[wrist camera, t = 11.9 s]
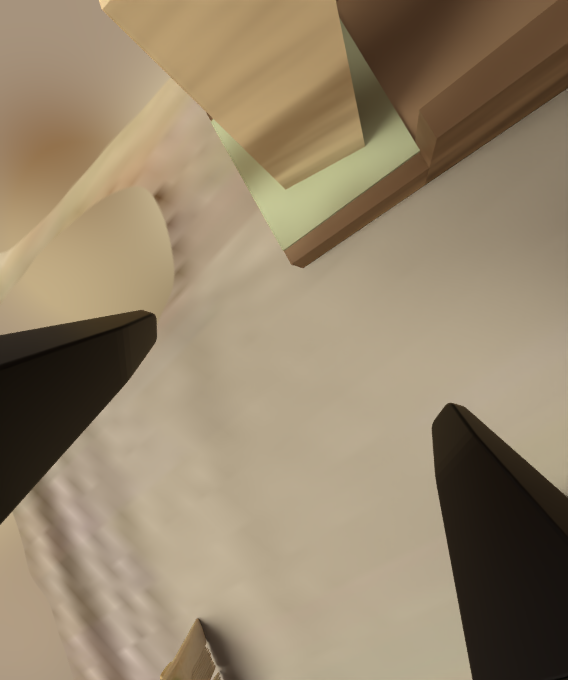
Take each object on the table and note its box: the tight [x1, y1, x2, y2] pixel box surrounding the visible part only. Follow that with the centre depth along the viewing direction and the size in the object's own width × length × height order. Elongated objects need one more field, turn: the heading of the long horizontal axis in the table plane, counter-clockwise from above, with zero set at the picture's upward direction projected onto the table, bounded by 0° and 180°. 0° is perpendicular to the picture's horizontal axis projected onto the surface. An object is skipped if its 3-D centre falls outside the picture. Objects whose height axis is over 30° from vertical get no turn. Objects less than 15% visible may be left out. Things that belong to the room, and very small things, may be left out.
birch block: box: [99, 0, 365, 190], centre depth 11 cm, size 5×5×12 cm
